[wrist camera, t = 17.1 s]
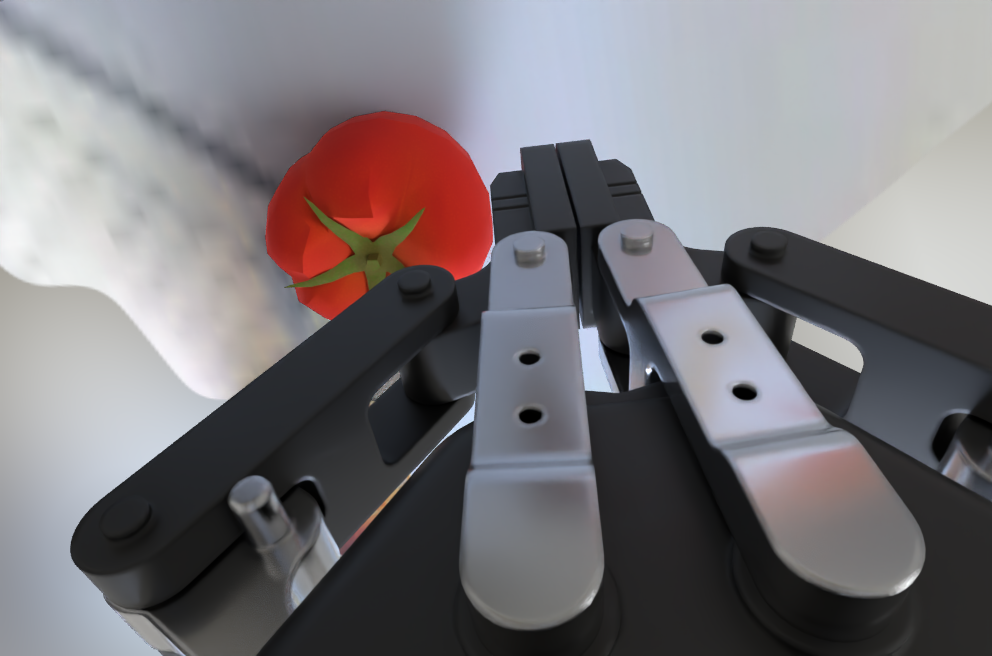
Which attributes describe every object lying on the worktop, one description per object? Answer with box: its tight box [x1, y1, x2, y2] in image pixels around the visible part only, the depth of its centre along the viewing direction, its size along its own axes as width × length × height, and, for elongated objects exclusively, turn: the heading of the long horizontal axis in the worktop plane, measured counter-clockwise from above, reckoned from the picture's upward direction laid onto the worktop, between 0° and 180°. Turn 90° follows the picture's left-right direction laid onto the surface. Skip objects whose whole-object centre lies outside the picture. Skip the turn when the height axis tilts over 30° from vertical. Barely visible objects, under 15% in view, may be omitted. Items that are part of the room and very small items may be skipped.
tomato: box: [265, 111, 493, 320], centre depth 41 cm, size 13×14×12 cm
